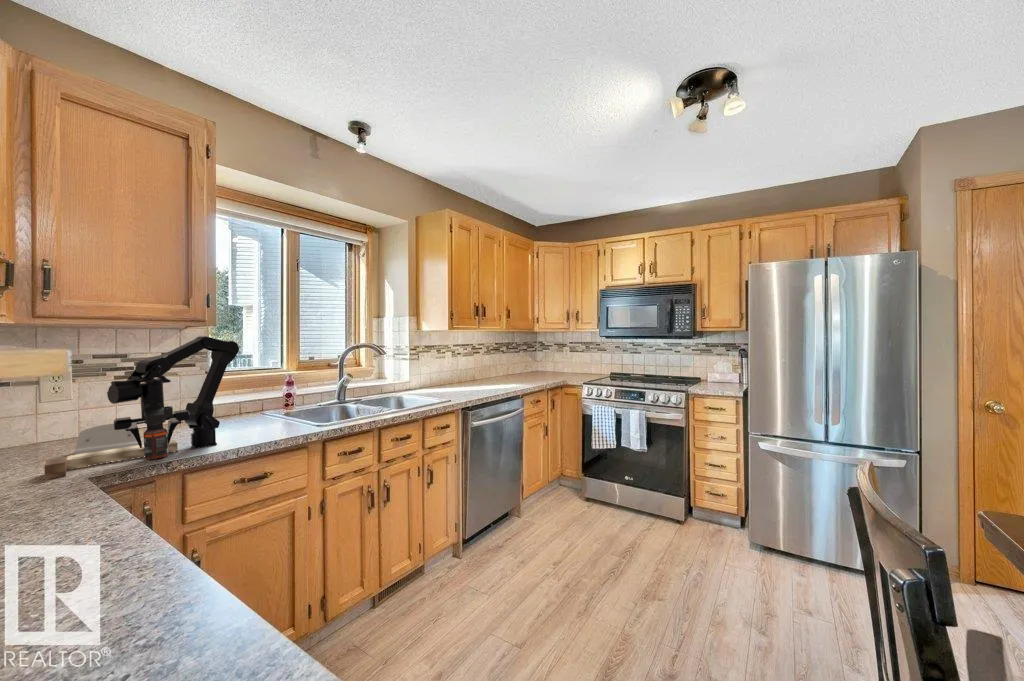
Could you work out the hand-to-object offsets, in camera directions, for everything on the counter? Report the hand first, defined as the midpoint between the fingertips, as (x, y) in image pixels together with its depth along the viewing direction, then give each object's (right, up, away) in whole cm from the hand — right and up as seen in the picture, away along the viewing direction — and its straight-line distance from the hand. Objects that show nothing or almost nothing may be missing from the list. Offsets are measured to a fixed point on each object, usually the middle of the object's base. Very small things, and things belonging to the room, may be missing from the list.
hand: (154, 445), depth 136 cm
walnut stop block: (-15, -5, -16) cm, 22 cm away
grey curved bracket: (-25, -4, +10) cm, 27 cm away
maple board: (-9, -4, 0) cm, 10 cm away
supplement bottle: (0, -4, 0) cm, 4 cm away
